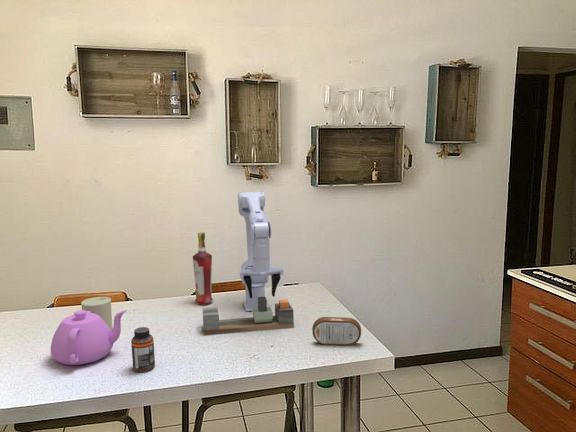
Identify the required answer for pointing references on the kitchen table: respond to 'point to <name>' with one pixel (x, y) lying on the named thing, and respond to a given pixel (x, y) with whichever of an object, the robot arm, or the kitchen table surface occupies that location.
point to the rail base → (245, 322)
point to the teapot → (84, 338)
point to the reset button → (283, 304)
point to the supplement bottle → (142, 350)
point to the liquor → (202, 272)
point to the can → (99, 308)
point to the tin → (336, 331)
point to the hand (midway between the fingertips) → (262, 296)
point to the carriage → (262, 311)
